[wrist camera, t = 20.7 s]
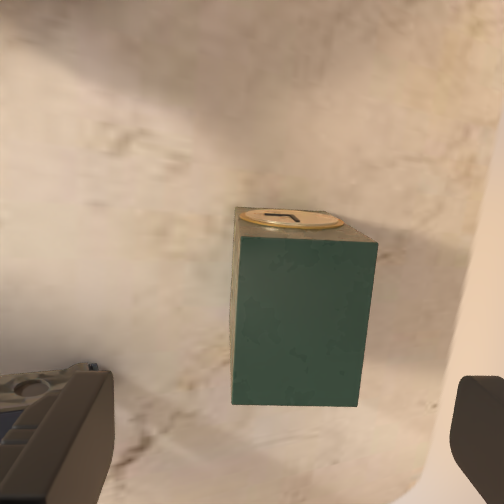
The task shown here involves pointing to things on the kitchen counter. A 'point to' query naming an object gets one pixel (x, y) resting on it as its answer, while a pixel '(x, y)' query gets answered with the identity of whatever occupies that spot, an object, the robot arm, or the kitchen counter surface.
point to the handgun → (31, 391)
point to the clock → (298, 308)
